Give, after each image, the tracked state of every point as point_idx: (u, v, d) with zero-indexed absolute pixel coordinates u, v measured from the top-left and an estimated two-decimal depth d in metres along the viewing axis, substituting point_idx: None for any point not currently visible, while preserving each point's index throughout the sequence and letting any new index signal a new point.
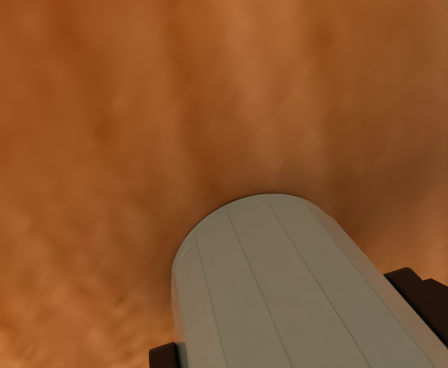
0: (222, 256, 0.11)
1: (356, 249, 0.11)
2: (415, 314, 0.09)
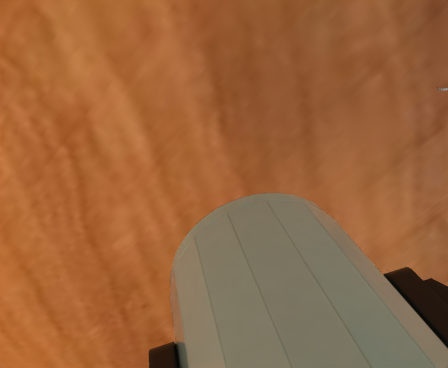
0: (222, 255, 0.11)
1: (356, 248, 0.11)
2: (415, 313, 0.09)
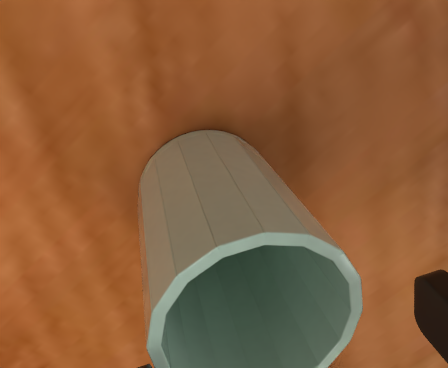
0: (170, 163, 0.16)
1: (263, 161, 0.16)
2: (289, 189, 0.14)
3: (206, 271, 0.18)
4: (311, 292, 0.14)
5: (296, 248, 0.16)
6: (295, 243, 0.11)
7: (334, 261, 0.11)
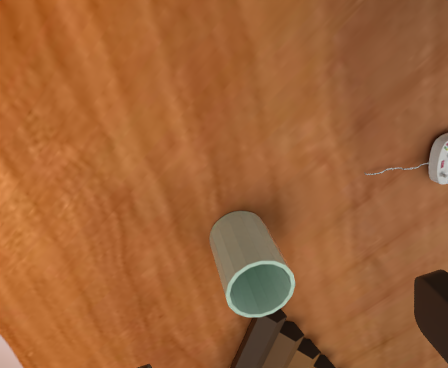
0: (226, 228, 0.40)
1: (263, 227, 0.41)
2: (272, 241, 0.39)
3: None
4: (280, 279, 0.39)
5: None
6: (270, 263, 0.35)
7: (283, 268, 0.35)
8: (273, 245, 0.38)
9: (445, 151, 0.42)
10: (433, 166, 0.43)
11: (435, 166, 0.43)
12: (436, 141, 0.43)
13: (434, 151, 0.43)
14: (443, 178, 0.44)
